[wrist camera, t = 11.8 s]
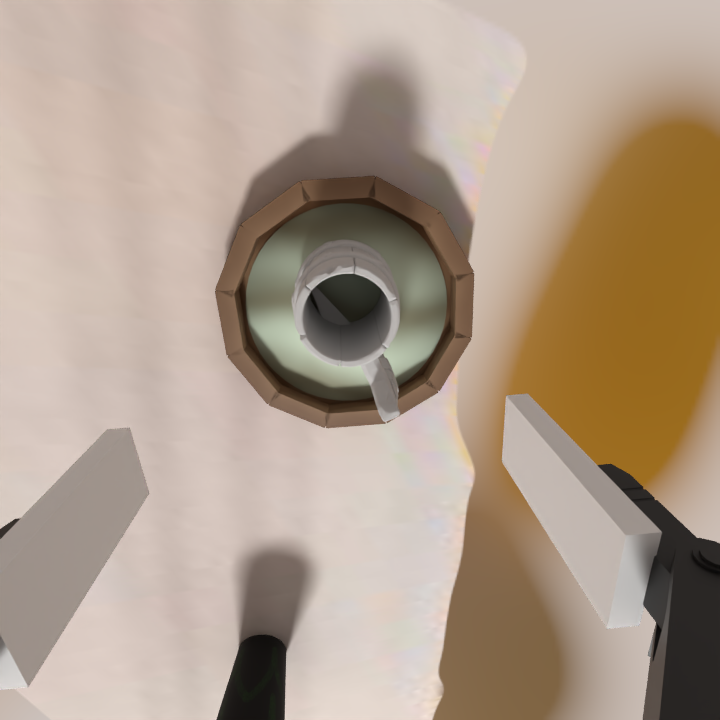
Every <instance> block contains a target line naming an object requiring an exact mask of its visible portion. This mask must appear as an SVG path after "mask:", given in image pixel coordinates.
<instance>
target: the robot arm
mask: <svg viewBox="0 0 720 720" xmlns="http://www.w3.org/2000/svg"><path fill="white" fill-rule="evenodd" d="M502 462H503V464H504V466H505V467H506V469H507V470H508V472H509V474H510V475H511V477H512V478H513V480H514V481H515V483H516V485H517V486H518V488H519V489H520V491H521V492H522V494H523V496H524V497H525V499H526V501H527V502H528V504H529V505H530V507H531V508H532V510H533V512H534V513H535V515H536V517H537V518H538V520H539V521H540V523H541V525H542V526H543V528H544V529H545V531H546V533H547V534H548V535H549V537H550V539H551V540H552V542H553V544H554V545H555V547H556V548H557V550H558V552H559V553H560V555H561V556H562V558H563V560H564V561H565V563H566V564H567V566H568V568H569V569H570V571H571V572H572V574H573V576H574V577H575V579H576V580H577V582H578V583H579V585H580V587H581V588H582V590H583V591H584V593H585V595H586V596H587V598H588V599H589V601H590V603H591V604H592V606H593V607H594V609H595V611H596V612H597V614H598V615H599V617H600V618H601V620H602V622H603V623H604V625H605V626H606V628H607V629H610V628H620V627H630V626H639V625H640V621H641V617H642V613H643V609H644V607H645V608H646V609H647V611H648V612H649V613H650V615H651V616H652V617H653V619H654V620H655V621H656V626H655V629H654V633H653V637H652V641H651V645H650V649H649V652H648V656H650V657H651V658H650V666H649V674H648V681H647V689H646V697H645V705H644V714H643V720H720V544H719V543H717V542H715V541H711V540H706V539H702V538H696V537H695V536H694V535H693V534H692V533H691V532H690V531H689V530H688V529H687V528H686V527H685V526H684V525H683V524H682V523H680V521H678V520H677V519H676V518H675V517H674V516H673V515H672V514H671V513H670V512H669V511H668V510H667V509H666V508H665V507H664V506H663V505H662V504H661V503H659V502H658V501H657V500H655V499H654V497H653V496H652V495H651V494H650V493H649V492H648V491H647V490H644V489H643V486H642V485H640V484H639V483H638V482H637V481H636V480H635V479H634V478H633V477H632V476H631V475H630V474H628V473H626V472H625V471H623V470H621V469H619V468H617V467H616V466H614V465H612V464H604V465H596V464H595V463H594V462H593V461H592V459H591V458H589V456H588V455H586V453H584V451H583V450H582V449H580V447H579V446H578V445H577V444H576V443H575V442H574V441H573V440H572V439H571V438H570V437H569V436H568V435H567V434H566V433H565V432H564V431H563V430H562V429H561V428H560V427H559V426H558V425H557V423H556V422H555V421H553V419H552V418H551V417H550V416H549V415H548V414H547V413H546V412H545V411H544V410H543V409H542V408H541V407H540V406H539V405H538V404H537V403H536V402H535V401H534V400H533V399H532V398H531V397H530V396H529V395H528V394H519V395H507V396H506V406H505V422H504V438H503V453H502ZM148 495H149V490H148V487H147V484H146V480H145V477H144V474H143V470H142V467H141V464H140V460H139V457H138V454H137V450H136V447H135V444H134V440H133V437H132V434H131V430H130V428H120V429H109V430H106V431H105V432H104V433H103V434H102V435H101V436H100V437H99V439H98V440H97V441H96V442H95V443H94V444H93V445H92V446H91V447H90V448H89V449H88V450H87V451H86V452H85V453H84V454H83V455H82V456H81V457H80V458H79V459H78V460H77V461H76V462H75V463H74V464H73V465H72V466H71V467H70V468H69V469H68V470H67V471H66V472H65V473H64V474H63V475H62V477H61V478H60V479H59V480H58V481H57V482H56V483H55V484H54V485H53V486H52V487H51V488H50V489H49V490H48V491H47V492H46V493H45V494H44V495H43V496H42V497H41V498H40V499H39V500H38V501H37V502H36V503H35V504H34V505H33V506H32V507H31V508H30V509H29V510H28V511H27V512H26V513H25V515H24V516H23V517H22V518H20V519H14V520H13V521H11V522H10V523H8V524H7V525H5V526H4V527H3V528H1V529H0V690H4V689H14V688H24V687H29V685H30V684H31V682H32V680H33V679H34V677H35V676H36V674H37V672H38V671H39V669H40V668H41V666H42V664H43V663H44V661H45V660H46V658H47V656H48V655H49V653H50V652H51V650H52V648H53V647H54V645H55V644H56V642H57V640H58V639H59V637H60V636H61V634H62V632H63V631H64V629H65V628H66V626H67V624H68V623H69V621H70V620H71V618H72V616H73V615H74V613H75V612H76V610H77V608H78V607H79V605H80V603H81V602H82V600H83V599H84V597H85V595H86V594H87V592H88V591H89V589H90V587H91V586H92V584H93V583H94V581H95V579H96V578H97V576H98V575H99V573H100V571H101V570H102V568H103V567H104V565H105V563H106V562H107V560H108V559H109V557H110V555H111V554H112V552H113V551H114V549H115V547H116V546H117V544H118V543H119V541H120V539H121V538H122V536H123V535H124V533H125V531H126V530H127V528H128V527H129V525H130V523H131V522H132V520H133V519H134V517H135V515H136V514H137V512H138V511H139V509H140V507H141V506H142V504H143V503H144V501H145V499H146V498H147V496H148Z"/></svg>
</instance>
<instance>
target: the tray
mask: <svg viewBox="0 0 720 720" xmlns="http://www.w3.org/2000/svg"><path fill="white" fill-rule="evenodd" d="M336 240H354V241H358V242H361V243H364V244H366V245H368V246H370V247H371V248H373V249H374V250H377V251H378V252H379V253H380V254H381V256H382V257H383V258H384V260H385V261H386V263H387V264H388V266H389V268H390V270H391V272H392V276H393V280H394V282H395V284H396V287H397V290H398V294H399V300H400V322H399V327H398V331H397V333H396V336H395V338H394V339H393V341H392V342H391V343H390V347H389V348H387V349H386V350H385V352H384V353H383V354H384V356H385V358H387V359H388V361H389V363H390V365H391V367H392V370H393V372H394V376H395V378H396V381H397V385H398V389H399V392H398V395H399V396H398V403H397V404H398V408H399V410H400V415H401V414H403V413H405V412H406V411H408V410H410V409H411V408H413V407H415V406H416V405H418V404H420V403H421V402H423V401H425V400H426V399H428V398H430V397H431V396H433V395H435V394H436V393H438V391H440V390H441V388H442V386H443V385H444V383H445V381H446V380H447V378H448V376H449V375H450V373H451V372H452V370H453V368H454V367H455V365H456V363H457V362H458V360H459V358H460V357H461V355H462V353H463V352H464V350H465V349H466V347H467V345H468V343H469V342H470V340H471V338H470V337H472V319H473V290H474V273H472V272H473V269H472V268H471V266H470V264H469V262H468V260H467V259H466V257H465V255H464V253H463V251H462V250H461V248H460V246H459V244H458V242H457V241H456V239H455V237H454V235H453V233H452V232H451V230H450V228H449V226H448V224H447V223H446V221H445V219H444V217H443V215H442V214H441V212H439V210H437V209H435V208H433V207H431V206H430V205H428V204H426V203H424V202H422V201H420V200H419V199H417V198H415V197H413V196H411V195H410V194H408V193H406V192H404V191H402V190H401V189H399V188H397V187H395V186H393V185H391V184H390V183H388V182H386V181H384V180H382V179H381V178H379V177H377V176H376V177H375V176H365V177H349V178H333V179H317V180H302V181H301V182H300V181H299V182H298V183H296V184H295V185H293V186H292V187H291V188H289V189H288V190H287V191H285V192H284V193H283V194H281V195H280V196H278V197H277V198H276V199H274V200H273V201H272V202H270V203H269V204H268V205H266V206H265V207H264V208H262V209H261V210H259V211H258V212H257V213H255V214H254V215H253V216H251V217H250V218H249V219H247V220H246V221H244V222H243V223H242V225H240V227H239V229H238V232H237V234H236V237H235V240H234V242H233V245H232V247H231V250H230V253H229V255H228V258H227V260H226V263H225V265H224V268H223V271H222V273H221V276H220V278H219V281H218V284H217V286H216V289H215V290H216V291H215V294H216V299H217V305H218V310H219V316H220V321H221V327H222V332H223V338H224V343H225V348H226V354H227V355H228V358H229V359H230V360H231V362H232V363H233V364H234V365H235V366H236V367H237V369H238V370H239V371H240V372H241V373H242V375H243V376H244V377H245V378H246V379H247V381H248V382H249V383H250V384H251V385H252V386H253V388H254V389H255V390H256V391H257V392H258V394H259V395H260V396H261V397H262V398H263V400H264V401H265V402H266V403H267V404H268V403H269V405H270V406H272V407H274V408H277V409H279V410H282V411H284V412H287V413H289V414H292V415H294V416H297V417H299V418H301V419H304V420H306V421H309V422H311V423H314V424H316V425H319V426H321V427H324V428H325V426H326V428H335V427H348V426H361V425H374V424H386V423H385V422H384V421H383V420H382V418H381V416H380V415H379V412H378V409H377V406H376V403H375V400H374V396H373V393H372V389H371V386H370V384H369V382H368V380H367V378H366V376H365V374H364V372H363V370H362V368H361V366H356V367H341V364H339V366H333V365H330V364H327V363H325V362H323V361H321V360H319V359H318V358H316V357H315V356H314V355H312V354H311V353H310V352H309V351H308V350H307V349H306V348H305V346H304V345H303V343H302V342H301V340H300V334H299V333H298V331H297V329H296V327H295V321H294V314H293V308H292V294H293V293H294V290H295V280H296V278H297V275H298V272H299V270H300V267H301V265H302V263H303V262H304V261H305V259H306V258H307V257H308V256H309V255H310V254H311V253H312V252H313V251H314V250H315V249H317V248H318V247H320V246H322V245H323V244H324V243H326V242H329V241H336ZM316 287H317V288H318V289H319V290H320V291H321V292H322V293H323V294H324V296H325V297H326V298H327V299H328V300H329V301H330V302H331V303H332V304H333V305H334V306H335V307H336V308H337V309H338V310H339V312H340V313H341V314H342V315H343V316H344V317H345V318H346V319H347V320H348V321H349V322H354V321H357V320H360V319H362V318H364V317H365V316H367V315H368V314H369V313H370V312H371V311H372V310H374V307H375V306H376V304H377V302H378V300H379V298H380V294H381V288H380V287H379V286H378V285H377V284H375V283H374V282H373V281H371V280H369V279H368V278H365V277H363V276H360V275H357V274H354V273H353V274H339V275H335V276H332V277H329V278H327V279H325V280H324V281H322V282H321V283H319V284H318V285H317V286H316ZM309 295H310V298H311V301H312V303H313V305H314V306H315V308H316V309H317V310H318V311H319V308H318V306H317V303H316V301H315V298H314V296H313V293H312V290H311V292H310V294H309ZM319 312H320V311H319ZM437 390H438V391H437ZM400 415H399V416H400ZM394 419H395V418H394ZM391 420H393V419H391ZM391 420H389V421H386V422H387V423H388V422H390V421H391Z"/></svg>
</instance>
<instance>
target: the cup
mask: <svg viewBox="0 0 720 720" xmlns="http://www.w3.org/2000/svg"><path fill="white" fill-rule="evenodd" d="M285 677H286V648H285V646H284V644H283V643H282V642H281V641H280V640H279V639H277V638H275V637H272V636H268V635H256V636H252V637H249V638H248V639H246V640H244V641H243V642H242V643H241V645H240V647H239V650H238V653H237V656H236V660H235V663H234V666H233V669H232V672H231V675H230V679H229V682H228V685H227V688H226V691H225V694H224V698H223V701H222V704H221V707H220V710H219V713H218V717H217V720H284V719H285Z"/></svg>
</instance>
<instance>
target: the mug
mask: <svg viewBox="0 0 720 720" xmlns="http://www.w3.org/2000/svg"><path fill="white" fill-rule="evenodd" d="M353 273H354V274H357V275H360V276H363V277H365V278H368V279H369V280H371V281H373V282H374V283H375V284H377V285H378V286H379V287H380V288H381V294H380V298H379V300H378V302H377V304H376V306H375V307H374V310H372V311H371V312H370V313H369V314H368V315H367V316H365V317H364V318H362V319H360V320H357V321H354V322H349V321H348V320H347V319H346V318H345V317H344V316H343V315H342V314H341V313H340V312H339V310H338V309H337V308H336V307H335V306H334V305H333V304H332V303H331V302H330V301H329V300H328V299H327V298H326V297H325V296H324V294H323V293H322V292H321V291H320V290H319V289H318V288H317V287H316V286H317V285H318V284H319V283H321V282H322V281H324V280H325V279H327V278H329V277H332V276H335V275H339V274H353ZM311 290H312V293H313V296H314V298H315V301H316V303H317V306H318V308H319V311H320V312H319V311H318V310H317V309H316V308H315V306H314V305H313V303H312V301H311V298H310V295H309V294H310V292H311ZM292 308H293V314H294V321H295V327H296V329H297V331H298V333H299V334H300V340H301V342H302V343H303V345H304V346H305V348H306V349H307V350H308V351H309V352H310V353H311V354H312V355H314V356H315V357H316V358H318V359H319V360H321V361H323V362H325V363H327V364H330V365H333V366H339V364H341V367H356V366H361V368H362V370H363V372H364V374H365V376H366V378H367V380H368V382H369V384H370V386H371V389H372V393H373V396H374V400H375V403H376V406H377V409H378V412H379V415H380V416H381V418H382V420H383V421H384V422H386V421H389V420H391V419H394V418H396V417H398V416H399V415H400V410H399V408H398V404H397V403H398V396H399V395H398V392H399V389H398V385H397V381H396V378H395V376H394V372H393V370H392V367H391V365H390V363H389V361H388V359H387V358H385V356H384V354H383V353H384V352H385V350H386V349H387V348H389V347H390V343H391V342H392V341H393V339H394V338H395V336H396V333H397V331H398V327H399V322H400V300H399V294H398V290H397V287H396V284H395V282H394V280H393V276H392V272H391V270H390V268H389V266H388V264H387V263H386V261H385V260H384V258H383V257H382V256H381V254H380V253H379V252H378V251H377V250H374V249H373V248H371V247H370V246H368V245H366V244H364V243H361V242H358V241H354V240H336V241H329V242H326V243H324V244H323V245H322V246H320V247H318V248H317V249H315V250H314V251H313V252H312V253H311V254H310V255H309V256H308V257H307V258H306V259H305V261H304V262H303V263H302V265H301V267H300V270H299V272H298V275H297V278H296V280H295V290H294V293H293V294H292Z"/></svg>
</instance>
